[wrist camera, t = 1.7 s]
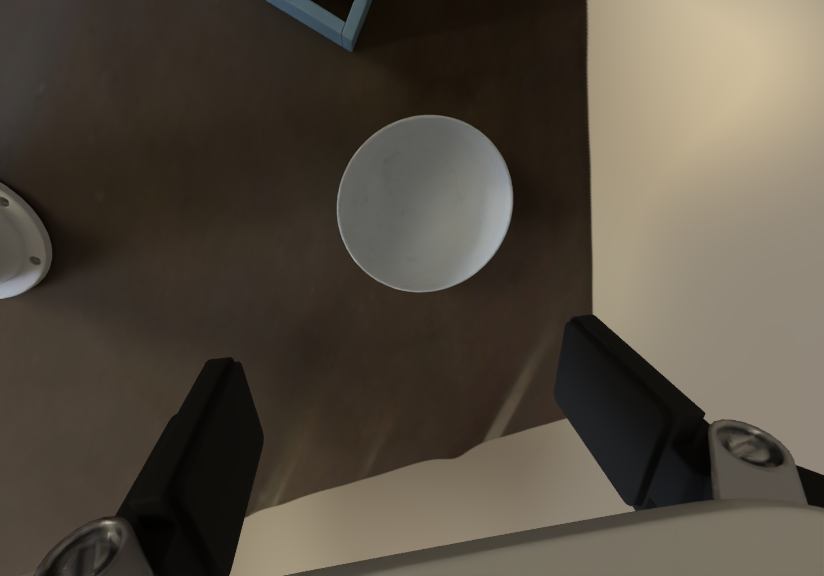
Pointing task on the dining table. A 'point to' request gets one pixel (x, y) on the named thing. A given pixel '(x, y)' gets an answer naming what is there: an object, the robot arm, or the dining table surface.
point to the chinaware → (425, 203)
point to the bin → (328, 19)
